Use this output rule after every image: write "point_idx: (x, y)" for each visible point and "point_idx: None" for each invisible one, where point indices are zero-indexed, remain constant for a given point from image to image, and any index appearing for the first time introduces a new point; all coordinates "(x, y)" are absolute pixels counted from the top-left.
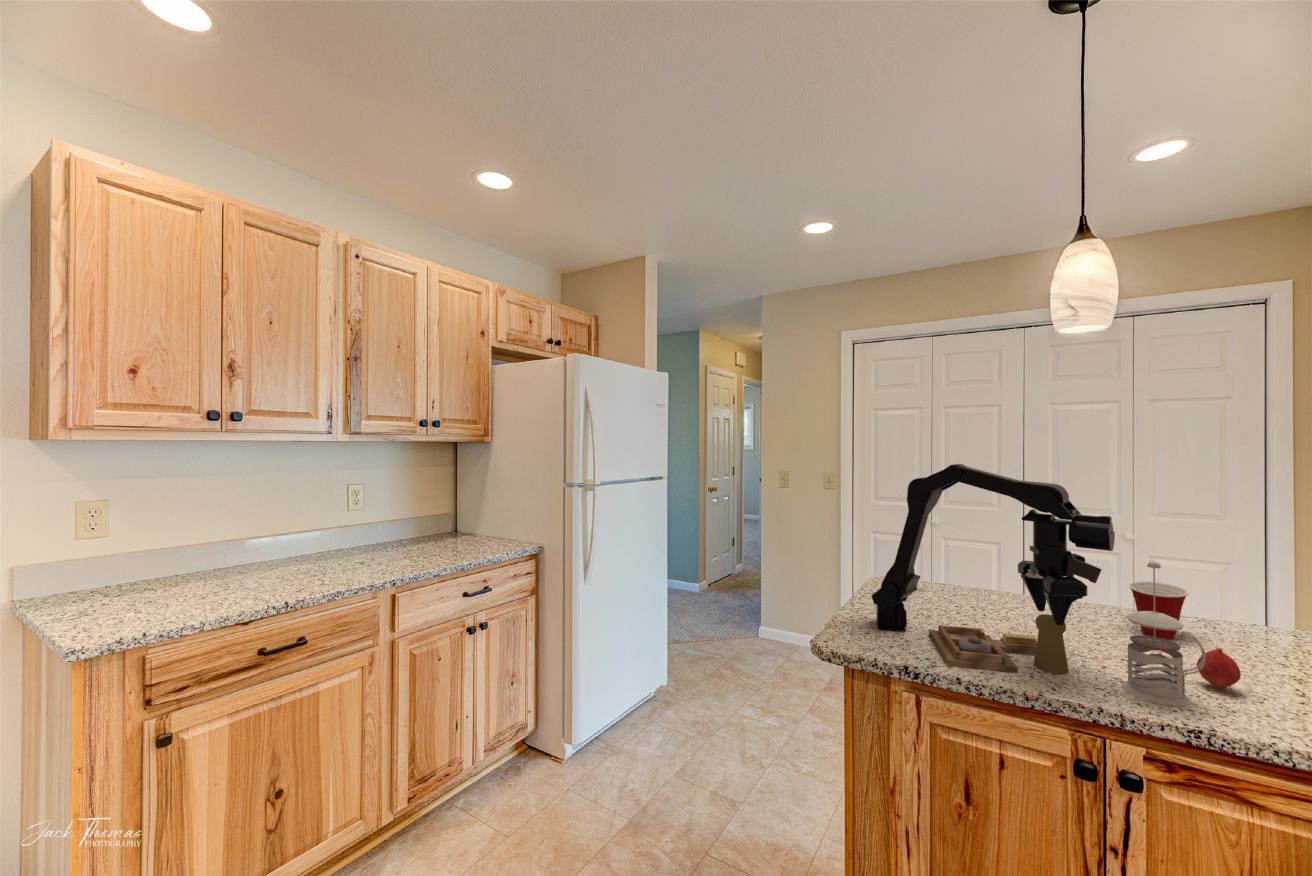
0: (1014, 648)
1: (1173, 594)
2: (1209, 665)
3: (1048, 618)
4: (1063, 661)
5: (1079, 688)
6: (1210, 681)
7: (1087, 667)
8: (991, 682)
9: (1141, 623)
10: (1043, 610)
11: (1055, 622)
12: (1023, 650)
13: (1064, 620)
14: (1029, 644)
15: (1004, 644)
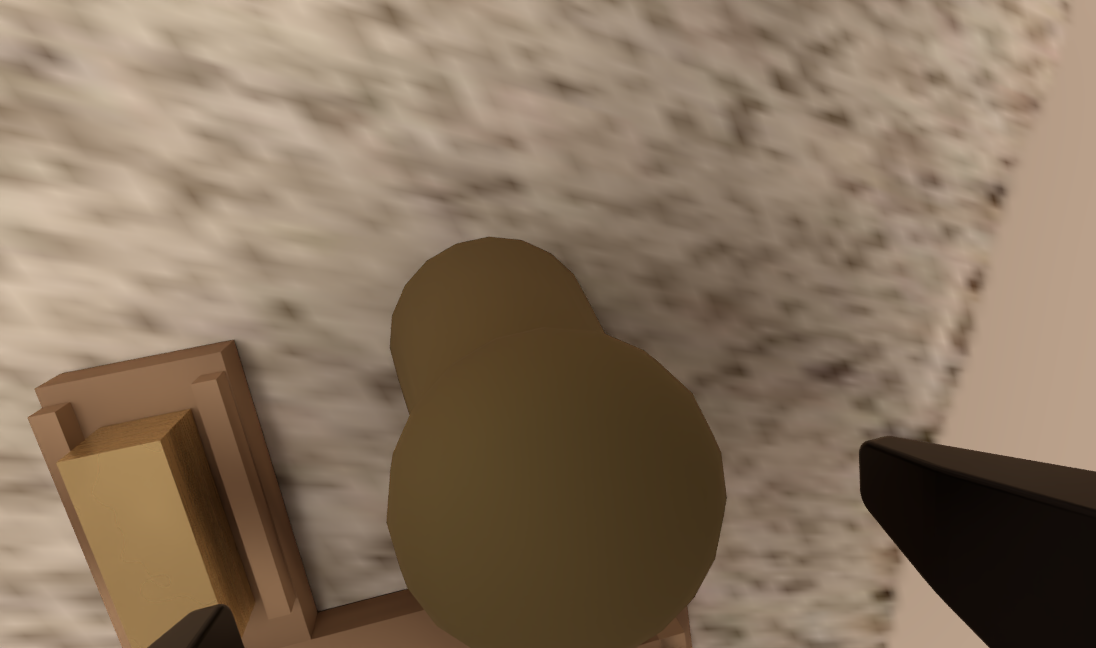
0: (283, 548)
1: None
2: None
3: (679, 574)
4: (582, 294)
5: (779, 235)
6: None
7: (346, 83)
8: (845, 630)
9: None
10: (222, 615)
11: (893, 523)
12: (268, 489)
13: (967, 451)
14: (199, 467)
15: None
